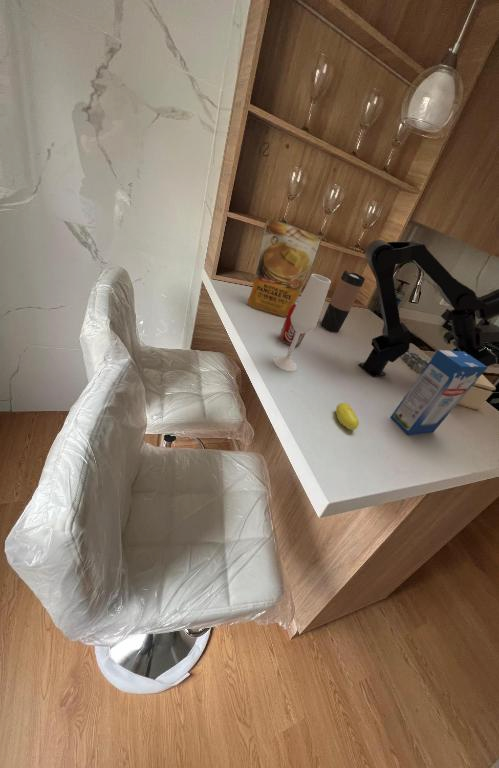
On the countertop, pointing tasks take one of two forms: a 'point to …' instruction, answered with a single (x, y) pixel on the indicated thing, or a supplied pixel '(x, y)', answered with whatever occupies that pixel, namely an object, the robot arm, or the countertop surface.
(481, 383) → the lid
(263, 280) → the pancake mix bag
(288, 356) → the champagne flute
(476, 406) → the cardboard box
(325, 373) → the countertop surface
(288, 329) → the soda can
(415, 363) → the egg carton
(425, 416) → the milk carton
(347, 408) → the lemon
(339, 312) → the travel mug
